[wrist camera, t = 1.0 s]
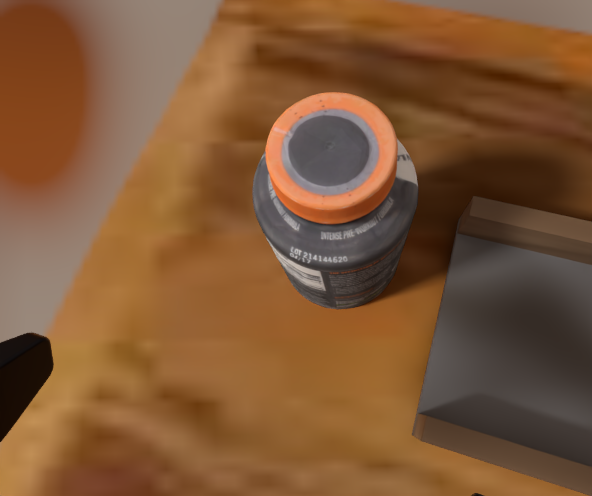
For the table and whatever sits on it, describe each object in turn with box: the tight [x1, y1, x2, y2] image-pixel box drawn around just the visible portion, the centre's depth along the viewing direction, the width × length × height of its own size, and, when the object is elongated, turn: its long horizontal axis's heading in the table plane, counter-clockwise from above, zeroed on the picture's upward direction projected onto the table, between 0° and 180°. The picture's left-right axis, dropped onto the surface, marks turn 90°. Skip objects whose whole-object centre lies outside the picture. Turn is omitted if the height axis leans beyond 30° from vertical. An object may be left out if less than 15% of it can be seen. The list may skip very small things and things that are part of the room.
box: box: [412, 196, 592, 496], centre depth 20 cm, size 11×11×3 cm
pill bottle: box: [253, 92, 418, 309], centre depth 19 cm, size 6×6×11 cm
